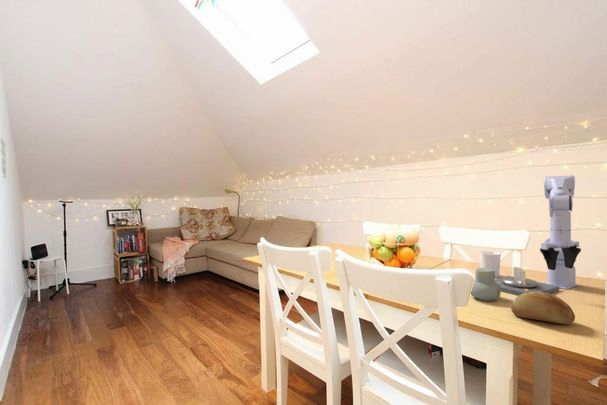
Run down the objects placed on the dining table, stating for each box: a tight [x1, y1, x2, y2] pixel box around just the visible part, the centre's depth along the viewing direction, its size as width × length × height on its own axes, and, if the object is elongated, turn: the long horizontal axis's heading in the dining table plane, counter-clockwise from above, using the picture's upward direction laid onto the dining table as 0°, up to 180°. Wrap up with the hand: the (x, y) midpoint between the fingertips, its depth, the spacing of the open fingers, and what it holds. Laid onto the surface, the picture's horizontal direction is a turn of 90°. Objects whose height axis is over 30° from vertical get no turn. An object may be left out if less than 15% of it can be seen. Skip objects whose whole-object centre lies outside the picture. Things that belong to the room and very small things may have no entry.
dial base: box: [495, 275, 560, 297], centre depth 125 cm, size 18×18×2 cm
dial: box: [502, 266, 538, 288], centre depth 125 cm, size 11×11×6 cm
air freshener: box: [470, 267, 502, 302], centre depth 115 cm, size 11×8×10 cm
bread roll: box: [510, 292, 576, 325], centre depth 95 cm, size 10×15×8 cm, turn 53°
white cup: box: [479, 250, 502, 278], centre depth 144 cm, size 8×8×10 cm
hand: (560, 268), depth 116 cm, fingers open, 7 cm apart
